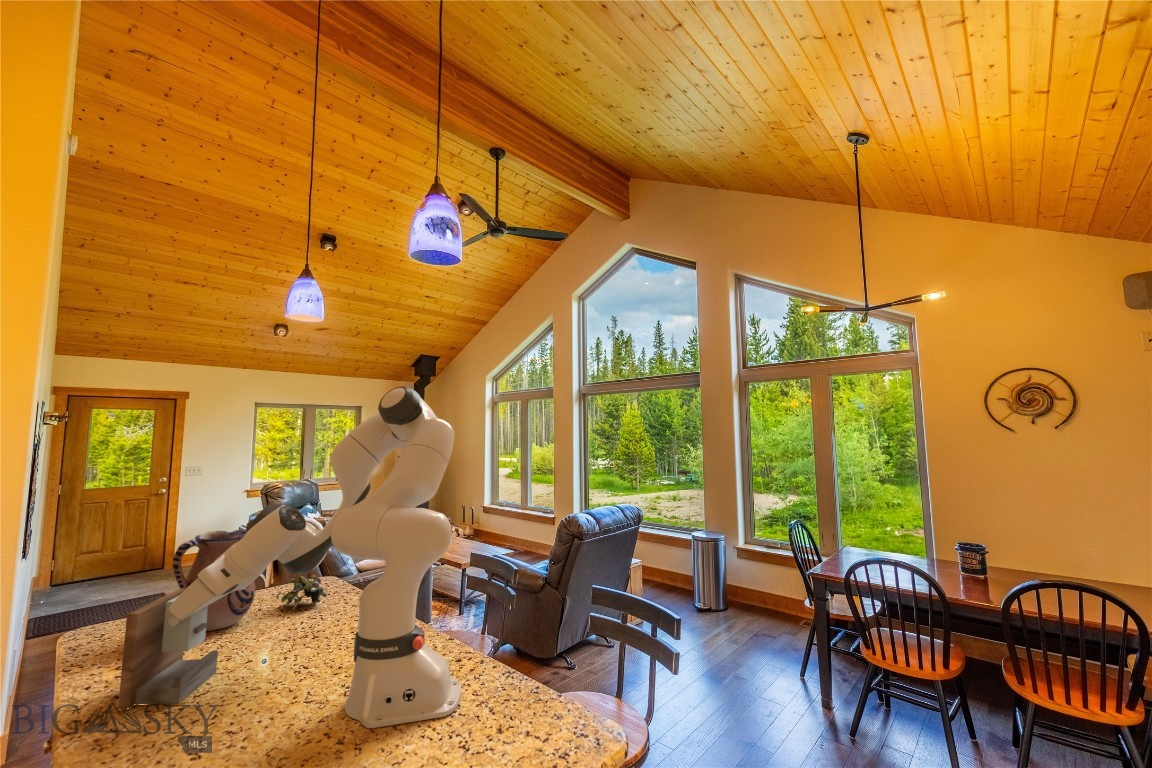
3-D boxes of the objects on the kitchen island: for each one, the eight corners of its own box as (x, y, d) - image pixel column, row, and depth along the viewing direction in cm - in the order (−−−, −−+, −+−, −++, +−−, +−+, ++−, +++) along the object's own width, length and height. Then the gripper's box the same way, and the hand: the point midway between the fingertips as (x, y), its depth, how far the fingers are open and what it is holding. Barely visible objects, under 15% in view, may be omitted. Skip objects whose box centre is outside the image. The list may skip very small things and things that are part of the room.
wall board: (219, 669, 115) (226, 587, 117) (174, 707, 99) (182, 612, 101) (171, 671, 114) (179, 588, 115) (117, 710, 98) (127, 614, 99)
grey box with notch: (209, 639, 111) (212, 592, 112) (191, 651, 105) (196, 601, 106) (180, 640, 110) (184, 592, 111) (161, 652, 104) (166, 602, 105)
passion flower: (312, 621, 158) (337, 589, 160) (286, 627, 148) (312, 593, 149) (292, 596, 162) (316, 565, 164) (265, 600, 152) (291, 567, 153)
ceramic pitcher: (267, 616, 147) (274, 529, 150) (202, 646, 127) (211, 544, 129) (216, 611, 150) (223, 526, 153) (144, 640, 130) (154, 540, 132)
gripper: (250, 547, 120) (202, 590, 118) (197, 571, 100) (139, 624, 98) (269, 566, 121) (221, 610, 119) (220, 594, 100) (161, 647, 98)
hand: (183, 616), depth 108 cm, fingers closed on grey box with notch, 6 cm apart
